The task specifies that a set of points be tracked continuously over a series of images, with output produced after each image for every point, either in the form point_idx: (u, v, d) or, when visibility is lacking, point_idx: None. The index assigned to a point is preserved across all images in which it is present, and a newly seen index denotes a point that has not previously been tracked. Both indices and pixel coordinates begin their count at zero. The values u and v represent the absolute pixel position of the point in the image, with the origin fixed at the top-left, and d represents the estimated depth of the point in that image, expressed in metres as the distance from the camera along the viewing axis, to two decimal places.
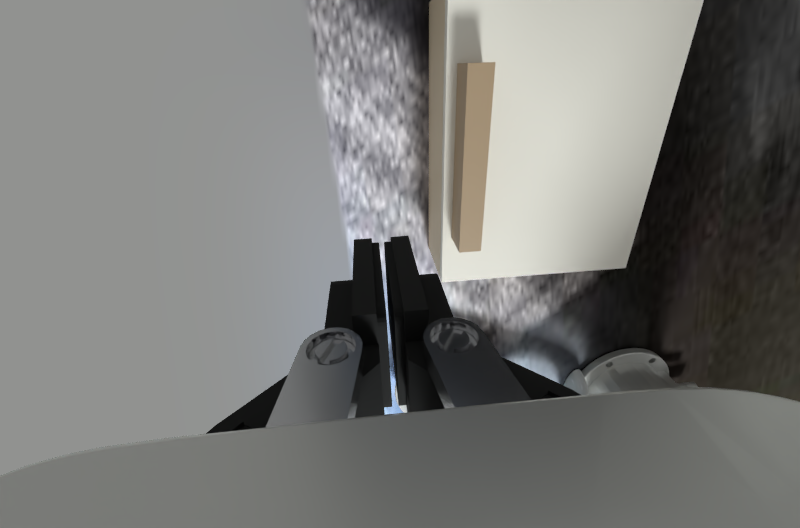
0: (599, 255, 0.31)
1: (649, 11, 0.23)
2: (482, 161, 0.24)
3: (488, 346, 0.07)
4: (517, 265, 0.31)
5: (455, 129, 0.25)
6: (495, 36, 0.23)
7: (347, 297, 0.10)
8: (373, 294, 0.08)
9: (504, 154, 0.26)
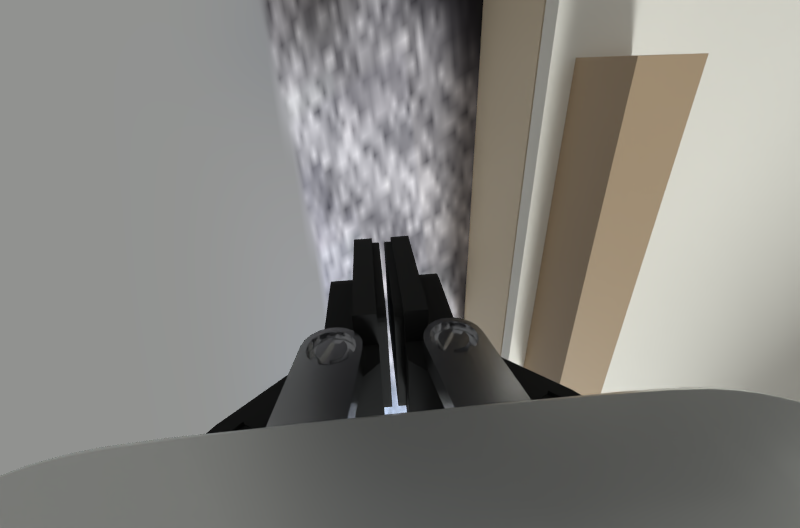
0: (768, 391, 0.18)
1: None
2: (626, 277, 0.11)
3: (488, 346, 0.07)
4: None
5: (555, 197, 0.12)
6: None
7: (347, 297, 0.10)
8: (373, 294, 0.08)
9: None
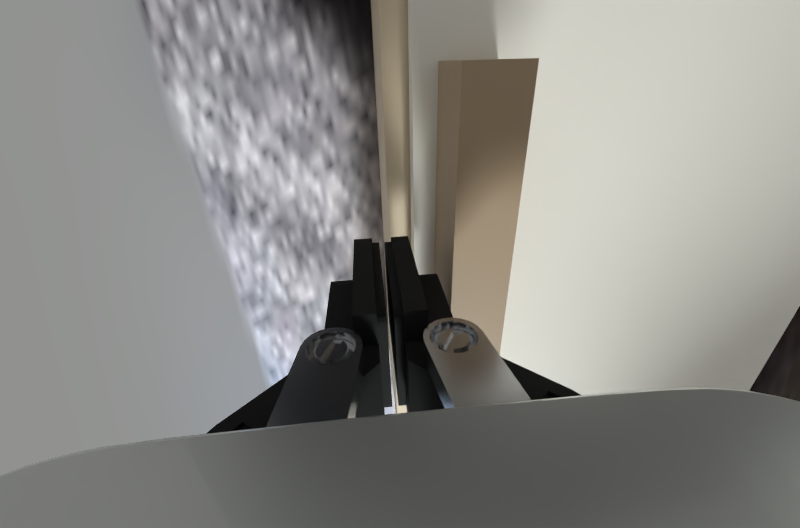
0: None
1: None
2: (496, 288, 0.10)
3: (488, 346, 0.07)
4: None
5: (437, 205, 0.11)
6: None
7: (347, 297, 0.10)
8: (373, 294, 0.08)
9: (538, 249, 0.13)
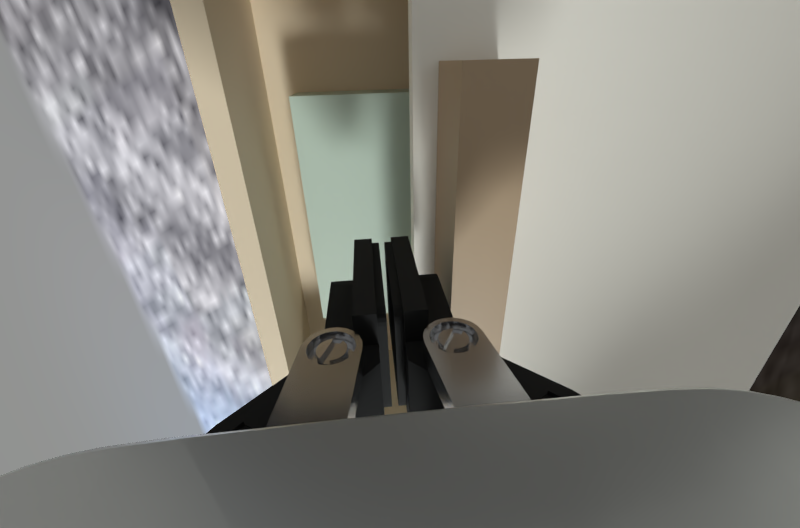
0: None
1: None
2: (496, 288, 0.10)
3: (488, 346, 0.07)
4: None
5: (437, 205, 0.11)
6: None
7: (347, 297, 0.10)
8: (373, 294, 0.08)
9: (538, 249, 0.13)
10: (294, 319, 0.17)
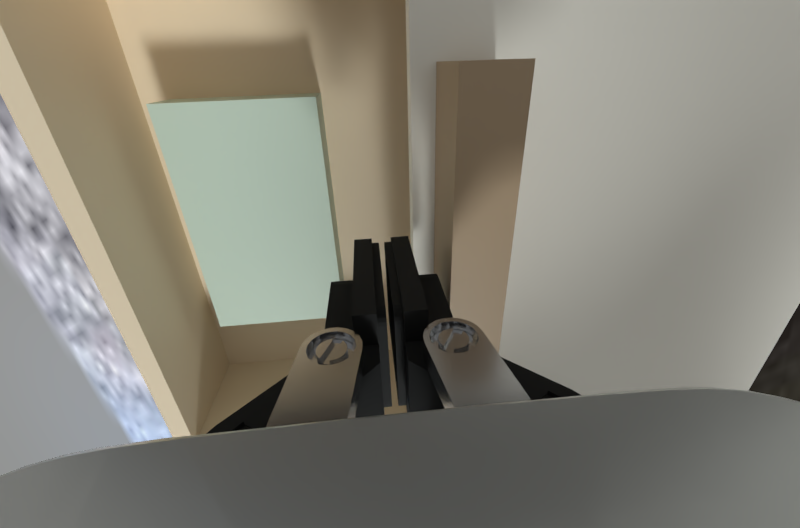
0: None
1: None
2: (494, 287, 0.10)
3: (488, 346, 0.07)
4: None
5: (435, 205, 0.11)
6: None
7: (347, 297, 0.10)
8: (373, 294, 0.08)
9: (537, 248, 0.13)
10: (185, 328, 0.17)
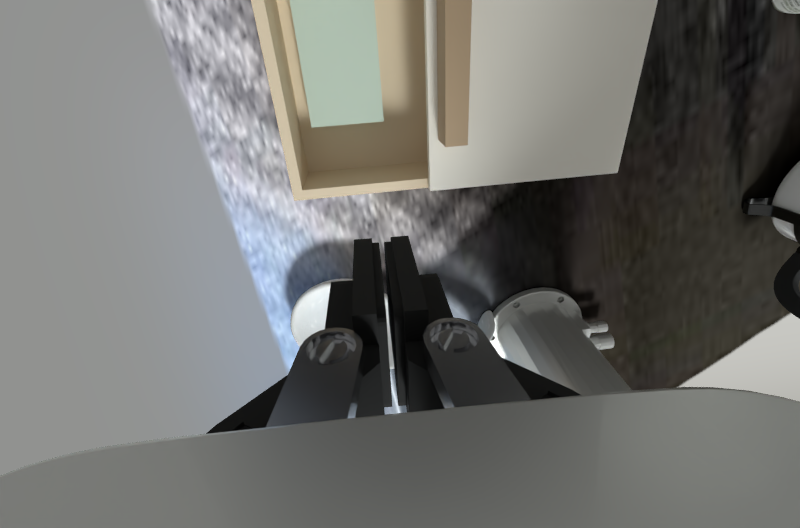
0: (590, 158, 0.30)
1: None
2: (465, 38, 0.23)
3: (488, 346, 0.07)
4: (507, 171, 0.30)
5: (437, 11, 0.24)
6: None
7: (347, 297, 0.10)
8: (373, 294, 0.08)
9: (489, 41, 0.25)
10: (294, 122, 0.30)
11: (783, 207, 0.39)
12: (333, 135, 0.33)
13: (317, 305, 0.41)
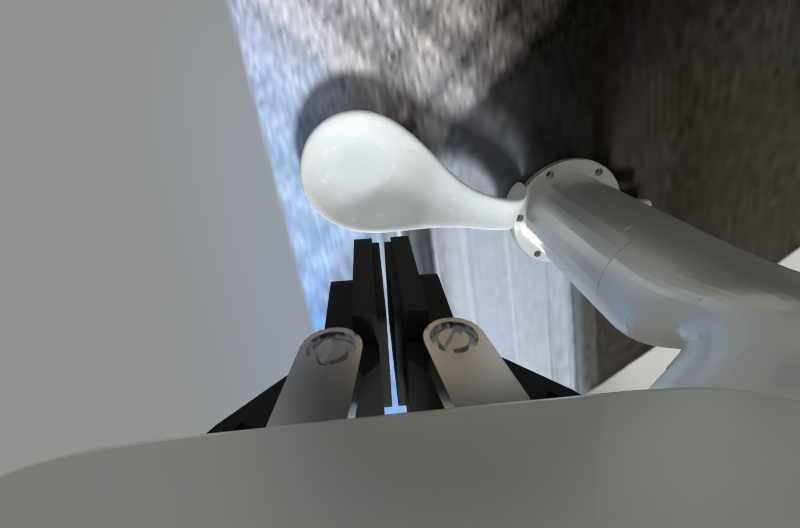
0: None
1: None
2: None
3: (488, 346, 0.07)
4: None
5: None
6: None
7: (347, 297, 0.10)
8: (373, 294, 0.08)
9: None
10: None
11: None
12: None
13: (330, 154, 0.37)
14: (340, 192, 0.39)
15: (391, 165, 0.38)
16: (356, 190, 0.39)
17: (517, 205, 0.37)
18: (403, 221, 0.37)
